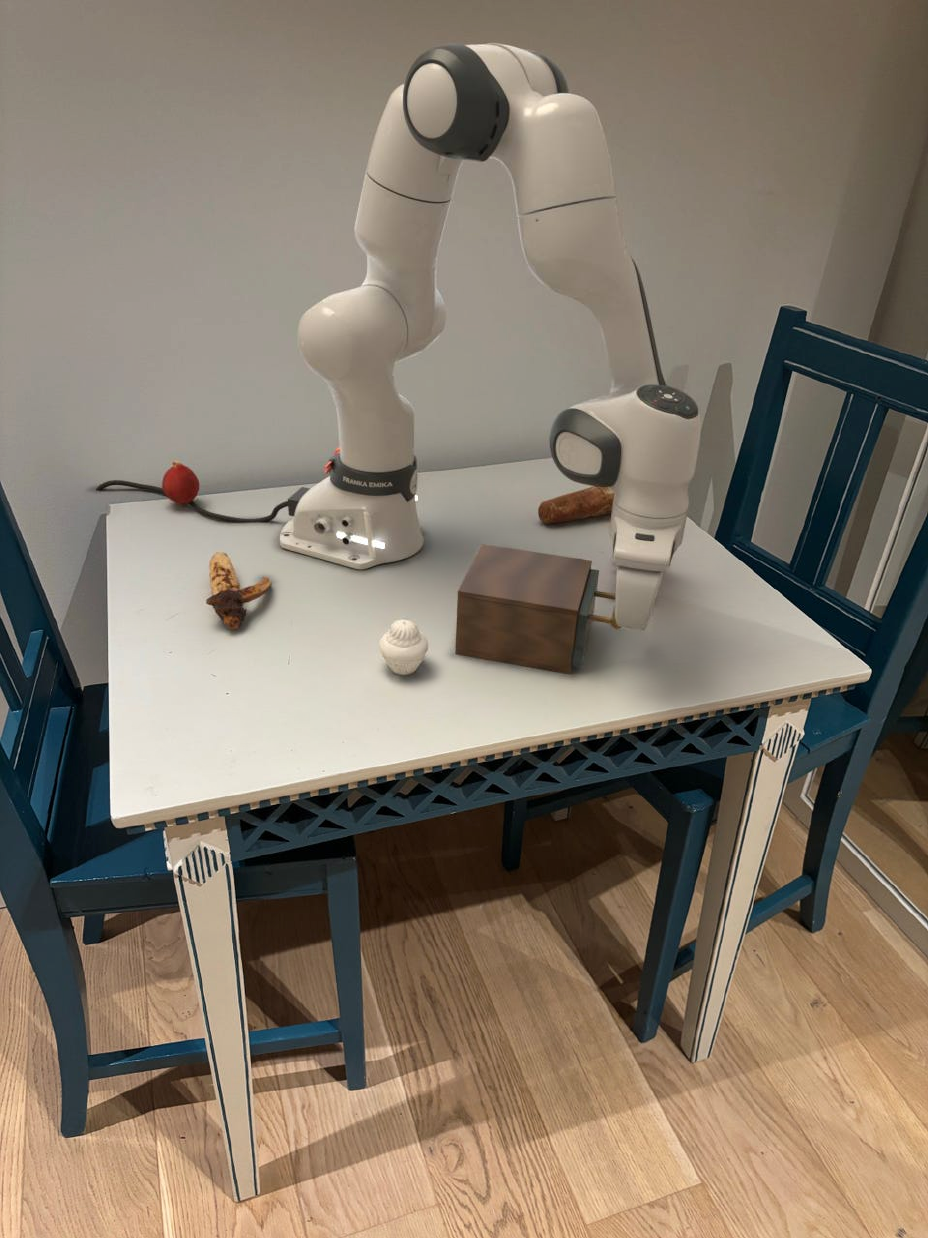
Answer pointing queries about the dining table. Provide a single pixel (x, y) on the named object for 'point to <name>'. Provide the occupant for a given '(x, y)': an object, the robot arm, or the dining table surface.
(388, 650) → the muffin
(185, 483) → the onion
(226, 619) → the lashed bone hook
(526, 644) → the cabinet
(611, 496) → the bread
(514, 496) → the dining table surface
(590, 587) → the drawer
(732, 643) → the dining table surface
